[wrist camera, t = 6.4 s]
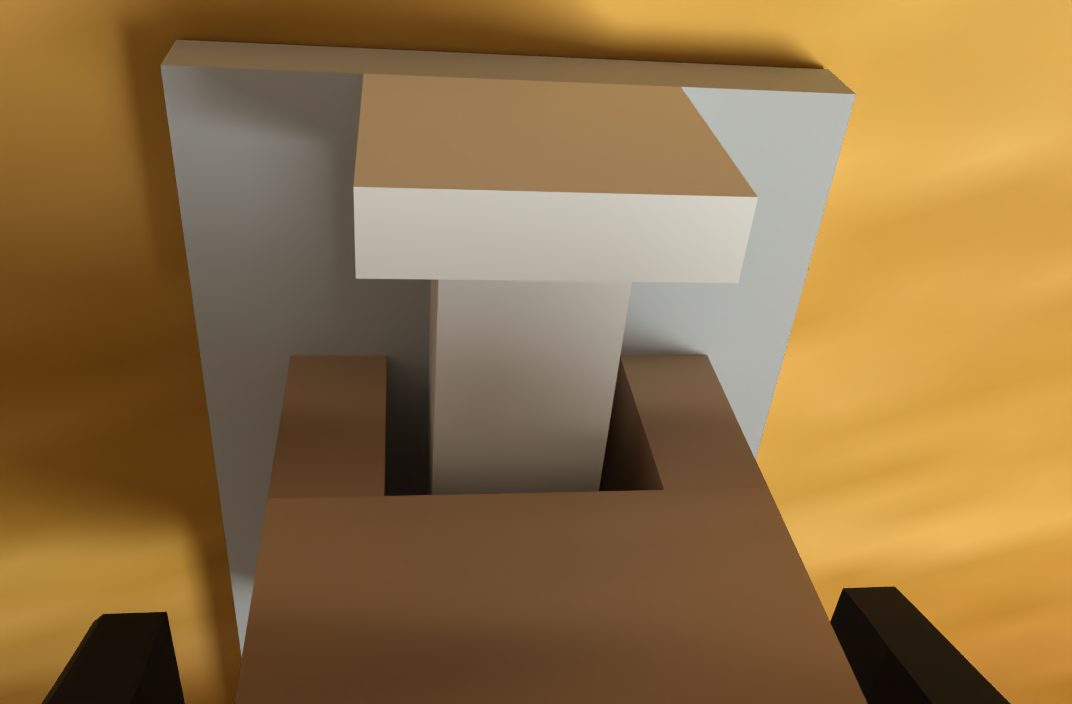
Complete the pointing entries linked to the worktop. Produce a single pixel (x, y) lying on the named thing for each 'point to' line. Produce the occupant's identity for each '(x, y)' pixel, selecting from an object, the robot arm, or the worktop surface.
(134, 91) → the worktop surface
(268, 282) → the rail
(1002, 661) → the worktop surface
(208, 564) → the worktop surface
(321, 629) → the brown notched block
